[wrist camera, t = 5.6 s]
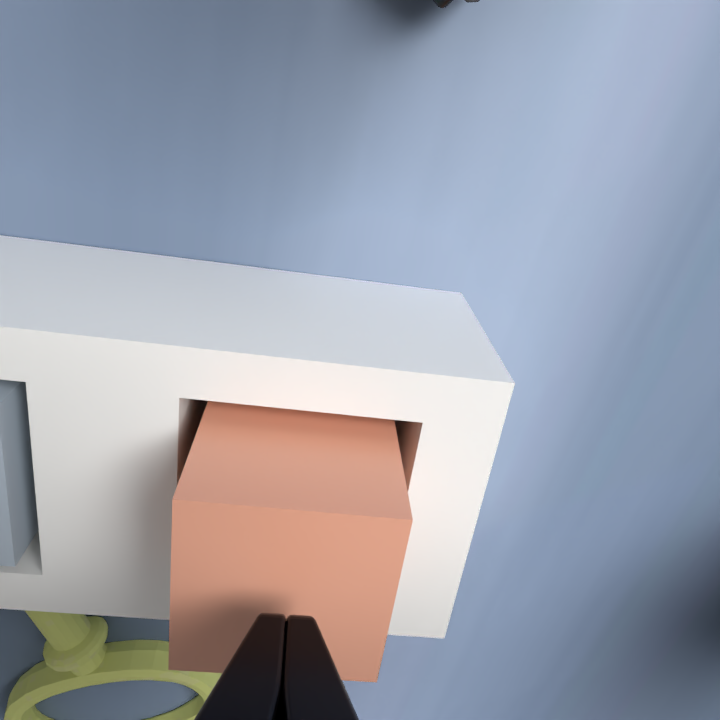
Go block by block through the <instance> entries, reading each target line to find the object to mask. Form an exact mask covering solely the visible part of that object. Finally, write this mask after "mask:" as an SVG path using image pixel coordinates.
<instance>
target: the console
mask: <svg viewBox="0 0 720 720" xmlns="http://www.w3.org/2000/svg"><path fill="white" fill-rule="evenodd" d="M0 379H1V380H10V381H20V382H26V392H27V403H28V415H29V426H30V437H31V449H32V460H33V471H34V483H35V494H36V505H37V517H38V528H39V530H38V531H37V533H36V534H35V536H34V538H33V539H32V541H31V542H30V544H29V546H28V547H27V549H26V550H25V552H24V553H23V555H22V557H21V558H20V560H19V561H18V563H17V565H16V566H15V567H12V566H0V609H12V610H27V611H42V612H57V613H72V614H87V615H102V616H117V617H131V618H146V619H161V620H170V576H171V533H172V499H173V496H174V493H175V490H176V488H177V485H178V482H179V479H180V477H181V474H182V471H183V468H184V466H185V463H186V460H187V457H188V455H189V452H190V449H191V446H192V444H193V441H194V438H195V435H196V432H197V430H198V427H199V424H200V421H201V419H202V416H203V413H204V410H205V408H206V405H207V402H208V401H216V402H225V403H235V404H245V405H255V406H264V407H274V408H284V409H294V410H304V411H313V412H323V413H333V414H343V415H352V416H362V417H372V418H382V419H391V420H394V421H395V427H396V432H397V437H398V443H399V448H400V453H401V459H402V464H403V470H404V475H405V480H406V486H407V491H408V496H409V502H410V507H411V513H412V518H413V522H412V526H411V531H410V535H409V540H408V544H407V549H406V553H405V558H404V562H403V567H402V571H401V576H400V580H399V584H398V589H397V593H396V598H395V602H394V607H393V611H392V616H391V620H390V625H389V629H388V634H387V635H400V636H415V637H430V638H445V634H446V630H447V627H448V623H449V620H450V616H451V612H452V609H453V605H454V601H455V598H456V594H457V591H458V587H459V583H460V580H461V576H462V573H463V569H464V565H465V562H466V558H467V554H468V551H469V547H470V544H471V540H472V536H473V533H474V529H475V526H476V522H477V518H478V515H479V511H480V507H481V504H482V500H483V497H484V493H485V489H486V486H487V482H488V479H489V475H490V471H491V468H492V464H493V460H494V457H495V453H496V450H497V446H498V442H499V439H500V435H501V432H502V428H503V424H504V421H505V417H506V413H507V410H508V406H509V403H510V399H511V395H512V392H513V388H514V385H515V383H514V381H513V379H512V378H511V376H510V374H509V373H508V371H507V369H506V367H505V366H504V364H503V362H502V361H501V359H500V357H499V356H498V354H497V352H496V350H495V349H494V347H493V345H492V344H491V342H490V340H489V339H488V337H487V335H486V334H485V332H484V330H483V328H482V327H481V325H480V323H479V322H478V320H477V318H476V317H475V315H474V313H473V312H472V310H471V308H470V306H469V305H468V303H467V301H466V300H465V298H464V296H463V295H462V293H460V292H452V291H444V290H436V289H428V288H419V287H411V286H403V285H395V284H387V283H379V282H371V281H363V280H355V279H347V278H339V277H331V276H323V275H315V274H307V273H299V272H291V271H283V270H275V269H267V268H259V267H251V266H243V265H235V264H227V263H219V262H211V261H203V260H195V259H187V258H179V257H171V256H163V255H155V254H147V253H139V252H131V251H122V250H114V249H106V248H98V247H90V246H82V245H74V244H66V243H58V242H50V241H42V240H34V239H26V238H18V237H10V236H2V235H0Z"/></svg>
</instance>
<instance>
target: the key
mask: <svg viewBox="0 0 720 720" xmlns="http://www.w3.org/2000/svg"><path fill="white" fill-rule="evenodd" d="M25 612H26V613H27V614H28V616H29V617H30V618H31V620H32V621H33V622H34V624H35V625H36V626H37V628H38V629H39V630H40V631H41V633H42V634H43V635H44V637H45V638H46V639H47V640H46V642H45V645H44V650H43V656H44V659H45V660H44V661H42V662H40V663H38V664H36V665H35V666H33V667H32V668H31V669H30V670H28V671H27V672H26V673H25V674H23V675H22V676H21V677H20V678H19V680H18V681H17V683H16V684H15V686H14V688H13V689H12V691H11V693H10V695H9V699H8V703H7V708H6V712H5V717H4V720H54V719H51V718H49V717H47V716H45V715H43V714H42V713H41V712H40V711H38V710H37V708H36V706H35V704H37V703H38V702H40V701H42V700H44V699H47V698H49V697H51V696H54V695H57V694H60V693H64V692H67V691H70V690H74V689H78V688H83V687H87V686H91V685H98V684H104V683H110V682H120V681H129V680H156V681H167V682H175V683H179V684H182V685H185V686H187V687H189V688H191V689H193V690H194V691H196V692H197V693H198V694H199V695H198V696H196V697H195V698H194V699H192V700H190V701H189V702H187V703H185V704H184V705H182V706H180V707H178V708H176V709H174V710H172V711H169V712H166V713H164V714H161V715H158V716H155V717H152V718H148V719H143V720H194V719H195V717H196V715H197V714H198V712H199V711H200V709H201V707H202V706H203V704H204V702H205V701H206V699H207V697H208V696H209V694H210V693H211V691H212V689H213V688H214V686H215V684H216V683H217V681H218V679H219V678H220V676H221V675H222V673H212V672H195V671H178V670H168V663H169V642H167V641H161V640H128V641H117V642H109V643H104V642H105V641H106V639H107V634H108V625H107V623H106V621H105V620H104V619H103V618H102V617H98V616H89V617H87V616H86V615H85V614H72V613H57V612H42V611H27V610H25Z"/></svg>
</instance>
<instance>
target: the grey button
mask: <svg viewBox="0 0 720 720" xmlns="http://www.w3.org/2000/svg"><path fill="white" fill-rule="evenodd" d="M38 530H39V528H38V517H37V505H36V494H35V483H34V471H33V460H32V449H31V437H30V426H29V415H28V403H27V392H26V382H20V381H10V380H1V379H0V566H12V567H15V566H16V565H17V563H18V561H19V560H20V558H21V557H22V555H23V553H24V552H25V550H26V549H27V547H28V546H29V544H30V542H31V541H32V539H33V538H34V536H35V534H36V533H37V531H38Z"/></svg>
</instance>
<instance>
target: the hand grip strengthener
mask: <svg viewBox="0 0 720 720" xmlns="http://www.w3.org/2000/svg"><path fill="white" fill-rule="evenodd" d="M433 1H434V2H435V3H436V4H437V5H438V7H441V8H444V7H447V6H448V5H449V4H450V3H451V2H452V1H453V0H433ZM465 1H466V2H478V1H479V0H465Z"/></svg>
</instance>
